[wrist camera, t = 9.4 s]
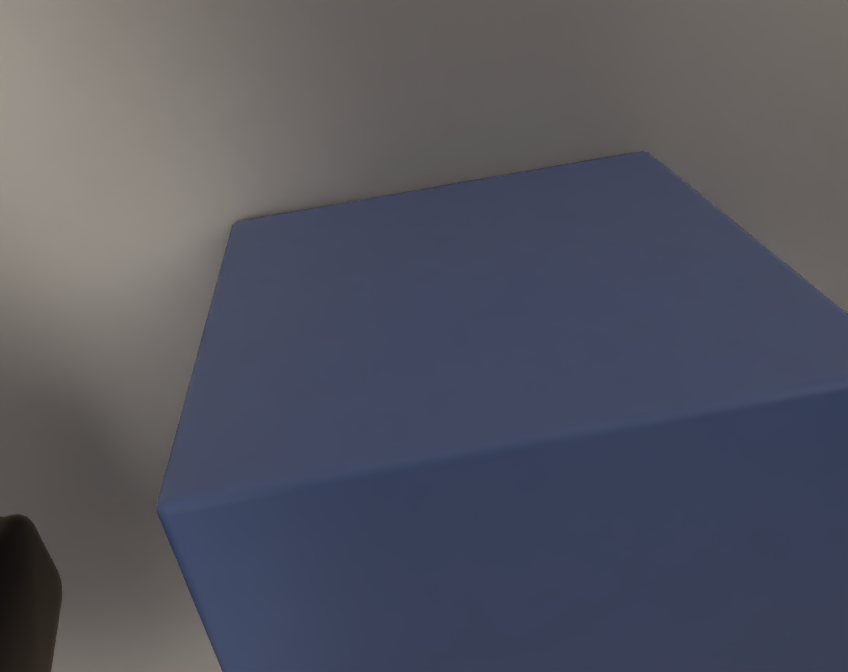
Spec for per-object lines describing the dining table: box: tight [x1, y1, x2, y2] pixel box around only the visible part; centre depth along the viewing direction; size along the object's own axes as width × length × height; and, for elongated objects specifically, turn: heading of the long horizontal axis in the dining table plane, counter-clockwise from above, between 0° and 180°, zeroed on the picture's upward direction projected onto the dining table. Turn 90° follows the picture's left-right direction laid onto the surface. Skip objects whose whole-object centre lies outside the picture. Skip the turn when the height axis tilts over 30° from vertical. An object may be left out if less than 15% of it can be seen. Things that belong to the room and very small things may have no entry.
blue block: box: [156, 151, 848, 672], centre depth 8 cm, size 4×4×4 cm
